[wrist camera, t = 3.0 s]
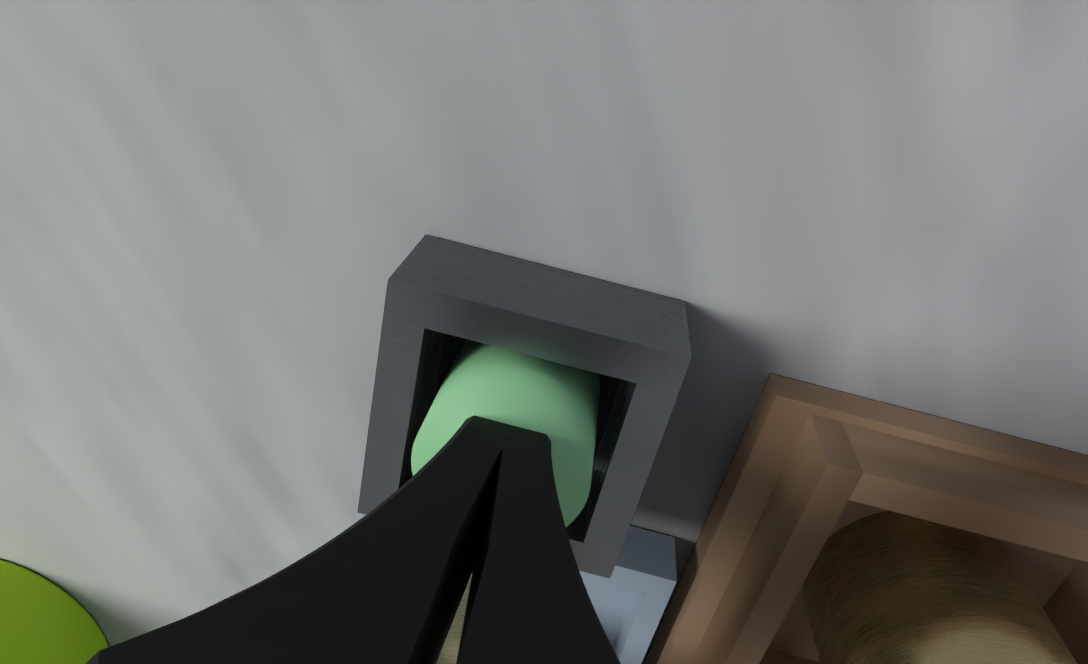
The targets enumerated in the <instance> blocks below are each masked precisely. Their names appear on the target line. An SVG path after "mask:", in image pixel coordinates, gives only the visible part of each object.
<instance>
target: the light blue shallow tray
mask: <svg viewBox="0 0 1088 664" xmlns="http://www.w3.org/2000/svg"><path fill="white" fill-rule="evenodd" d="M364 516H366V514H364ZM580 574H581V577H582V579H583V582H584V585H585V587H586V590H587V592H588V595H589V597H590V600H591V602H592V604H593V607H594V609H595V611H596V614H597V616H598V618H599V620H600V623H601V625H602V627H603V629H604V631H605V633H606V635H607V637H608V639H609V641H610V643H611V646H612V648H613V650H614V652H615V654H616V656H617V658H618V659H619V661H620V663H621V664H641V663H642V661H643V659H644V656H645V654H646V652H647V649H648V647H649V645H650V642H651V640H652V638H653V635H654V633H655V631H656V628H657V626H658V624H659V622H660V619H661V617H662V615H663V612H664V610H665V608H666V605H667V603H668V601H669V598H670V596H671V594H672V591H673V589H674V587H675V584H676V582H677V577H676V556H675V537H671V536H667V535H663V534H660V533H656V532H652V531H648V530H644V529H641V528H637V527H633V526H629V529H628V532H627V535H626V537H625V540H624V543H623V545H622V548H621V551H620V554H619V556H618V559H617V562H616V564H615V567H614V570H613V572H612V575H611V578H610V579H609V578H606V577H602V576H598V575H594V574H590V573H587V572H583V571H580ZM471 577H472V574H471V576H470V578H471Z"/></svg>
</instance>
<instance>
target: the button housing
mask: <svg viewBox="0 0 1088 664" xmlns="http://www.w3.org/2000/svg"><path fill="white" fill-rule="evenodd" d="M446 334H449V335H453V336H456V337H460V338H464V339H468V340H472V341H476V342H480V343H483V344H487V345H491V346H495V347H499V348H503V349H506V350H510V351H514V352H518V353H522V354H526V355H530V356H533V357H537V358H541V359H545V360H549V361H553V362H557V363H560V364H564V365H568V366H572V367H576V368H580V369H584V370H587V371H591V372H595V373H599V374H603V375H607V376H610V377H614V378H618V379H621V380H620V383H619V386H618V390H617V393H616V396H615V399H614V402H613V405H612V408H611V411H610V415H609V418H608V421H607V424H606V427H605V430H604V433H603V436H602V439H601V443H600V446H599V449H598V452H597V455H596V458H595V461H594V464H593V468H592V478H591V487H590V492H589V496H588V499H587V501H586V503H585V506H584V507H583V509H582V511H581V512H580V514H579V515H578V516H577V517H576V518H575V520H574V521H573V522H572V523H570V524H569V525H568V526H567V527H566V531H567V534H568V538H569V541H570V544H571V548H572V551H573V554H574V557H575V560H576V563H577V566H578V568H579V571H583V572H587V573H590V574H594V575H598V576H602V577H606V578H609V579H610V578H611V575H612V572H613V570H614V567H615V564H616V562H617V559H618V556H619V554H620V551H621V548H622V545H623V543H624V540H625V537H626V535H627V532H628V529H629V526H630V524H631V521H632V518H633V516H634V513H635V510H636V508H637V505H638V502H639V499H640V497H641V494H642V491H643V489H644V486H645V483H646V481H647V478H648V475H649V472H650V470H651V467H652V464H653V462H654V459H655V456H656V453H657V451H658V448H659V445H660V443H661V440H662V437H663V435H664V432H665V429H666V426H667V424H668V421H669V418H670V416H671V413H672V410H673V407H674V405H675V402H676V399H677V397H678V394H679V391H680V389H681V386H682V383H683V380H684V378H685V375H686V372H687V370H688V367H689V364H690V362H691V359H692V356H691V347H690V338H689V330H688V321H687V312H686V304H685V301H681V300H677V299H673V298H669V297H665V296H661V295H658V294H654V293H650V292H646V291H642V290H638V289H634V288H630V287H627V286H623V285H619V284H615V283H611V282H607V281H603V280H599V279H596V278H592V277H588V276H584V275H580V274H576V273H572V272H568V271H565V270H561V269H557V268H553V267H549V266H545V265H541V264H537V263H534V262H530V261H526V260H522V259H518V258H514V257H510V256H506V255H503V254H499V253H495V252H491V251H487V250H483V249H479V248H475V247H472V246H468V245H464V244H460V243H456V242H452V241H448V240H444V239H441V238H437V237H433V236H429V235H425V236H424V237H423V238H422V240H421V241H420V242H419V243H418V244H417V246H416V247H415V248H414V249H413V250H412V251H411V253H410V254H409V255H408V256H407V257H406V259H405V260H404V261H403V262H402V263H401V265H400V266H399V267H398V268H397V269H396V271H395V272H394V273H393V274H392V275H391V277H390V278H389V279H388V284H387V292H386V299H385V307H384V315H383V322H382V330H381V338H380V345H379V353H378V361H377V368H376V376H375V383H374V391H373V399H372V406H371V414H370V422H369V429H368V437H367V445H366V452H365V460H364V467H363V475H362V483H361V490H360V498H359V506H358V512H359V513H362V514H366V515H367V514H368V513H370V512H371V511H372V510H373V509H375V508H376V507H377V506H378V505H380V504H381V503H382V502H383V501H384V500H386V499H387V498H388V497H389V496H390V495H392V494H393V493H394V492H395V491H397V490H398V489H399V488H400V487H401V486H403V485H404V484H405V483H406V482H407V481H408V480H409V479H410V478H411V477H413V474H412V468H411V454H412V448H413V444H414V441H415V438H416V436H417V434H418V432H419V430H420V428H421V426H422V424H423V422H424V420H425V418H426V416H427V414H428V412H429V410H430V407H431V405H432V403H433V401H434V396H435V391H436V385H437V380H438V374H439V368H440V363H441V357H442V352H443V346H444V341H445V335H446Z"/></svg>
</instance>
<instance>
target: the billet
mask: <svg viewBox="0 0 1088 664" xmlns="http://www.w3.org/2000/svg"><path fill="white" fill-rule="evenodd" d="M802 590H803V598H804V602H805V606H806V610H807V614H808V618H809V622H810V626H811V630H812V634H813V638H814V642H815V646H816V650H817V654H818V658H819V662H820V664H1077V663H1076V661H1075V659H1074V658H1073V656H1072V655H1071V653H1070V651H1069V650H1068V648H1067V647H1066V645H1065V643H1064V642H1063V640H1062V639H1061V637H1060V635H1059V634H1058V632H1057V631H1056V629H1055V627H1054V626H1053V624H1052V623H1051V621H1050V619H1049V618H1048V616H1047V615H1046V613H1045V611H1044V610H1043V608H1042V606H1041V605H1040V603H1039V602H1038V600H1037V598H1036V597H1035V595H1034V594H1033V592H1032V590H1031V589H1030V587H1029V586H1028V584H1027V582H1026V581H1025V579H1024V578H1023V576H1022V574H1021V573H1020V571H1019V570H1018V568H1017V566H1016V565H1015V563H1014V562H1013V560H1012V558H1011V557H1010V555H1009V553H1008V552H1007V550H1006V549H1005V547H1004V545H1003V544H1002V543H1001V542H1000V540H999V539H996V538H993V537H989V536H985V535H981V534H977V533H973V532H970V531H966V530H962V529H958V528H954V527H950V526H947V525H943V524H939V523H935V522H931V521H927V520H924V519H920V518H916V517H912V516H908V515H904V514H901V513H897V512H893V511H884V512H879V513H876V514H872V515H869V516H866V517H863V518H861V519H858V520H856V521H853V522H852V523H850V524H848V525H846V526H844V527H842V528H841V529H839V530H838V531H836V532H835V533H833V534H832V535H831V536H830V537H828V539H827V540H826V542H825V544H824V546H823V548H822V550H821V551H820V553H819V555H818V557H817V559H816V561H815V562H814V564H813V566H812V568H811V570H810V571H809V573H808V575H807V577H806V579H805V581H804V582H803V584H802Z"/></svg>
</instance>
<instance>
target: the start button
mask: <svg viewBox="0 0 1088 664" xmlns="http://www.w3.org/2000/svg"><path fill="white" fill-rule="evenodd" d="M600 394H601V385H600V378H599V373H595V372H591V371H587V370H584V369H580V368H576V367H572V366H568V365H564V364H560V363H557V362H553V361H549V360H545V359H541V358H537V357H533V356H530V355H526V354H522V353H518V352H514V351H510V350H506V349H503V348H499V347H495V346H491V345H487V344H483V343H480V342H476V341H472V340H468V339H467V340H466V341H465V343H464V344H463V345H462V346H461V348H460V350H459V351H458V353H457V355H456V357H455V359H454V361H453V363H452V365H451V367H450V369H449V371H448V373H447V375H446V377H445V379H444V381H443V383H442V385H441V387H440V389H439V391H438V393H437V395H436V397H435V399H434V401H433V403H432V405H431V407H430V410H429V412H428V414H427V416H426V418H425V420H424V422H423V424H422V426H421V428H420V430H419V432H418V434H417V436H416V438H415V441H414V444H413V448H412V454H411V468H412V474H413V476H414V475H415V474H416V473H417V472H418V471H419V470H420V469H421V468H422V467H423V466H424V465H425V464H426V463H427V462H428V461H429V460H431V459H432V458H433V457H434V456H435V455H436V454H437V452H438V451H439V450H440V449H441V448H442V447H443V446H444V445H445V444H446V443H447V442H448V441H449V440H450V439H451V437H452V436H453V435H454V434H455V433H456V432H457V430H458V429H459V428H460V427H461V425H462V424H463V423H464V421H465V420H466V419H467V418H469V417H471V416H473V415H475V416H479V417H482V418H486V419H490V420H494V421H498V422H502V423H505V424H509V425H513V426H517V427H521V428H525V429H529V430H533V431H537V432H540V433H544V434H547V436H548V437H549V439H550V440H551V456H552V466H553V473H554V479H555V485H556V490H557V495H558V500H559V504H560V508H561V512H562V516H563V519H564V523H565V527H567V526H568V525H569V524H570V523H572V522H573V521H574V520H575V518H576V517H577V516H578V515H579V514H580V512H581V511H582V509H583V507H584V506H585V503H586V501H587V499H588V496H589V492H590V487H591V478H592V468H593V459H594V450H595V441H596V432H597V423H598V413H599V404H600Z"/></svg>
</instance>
